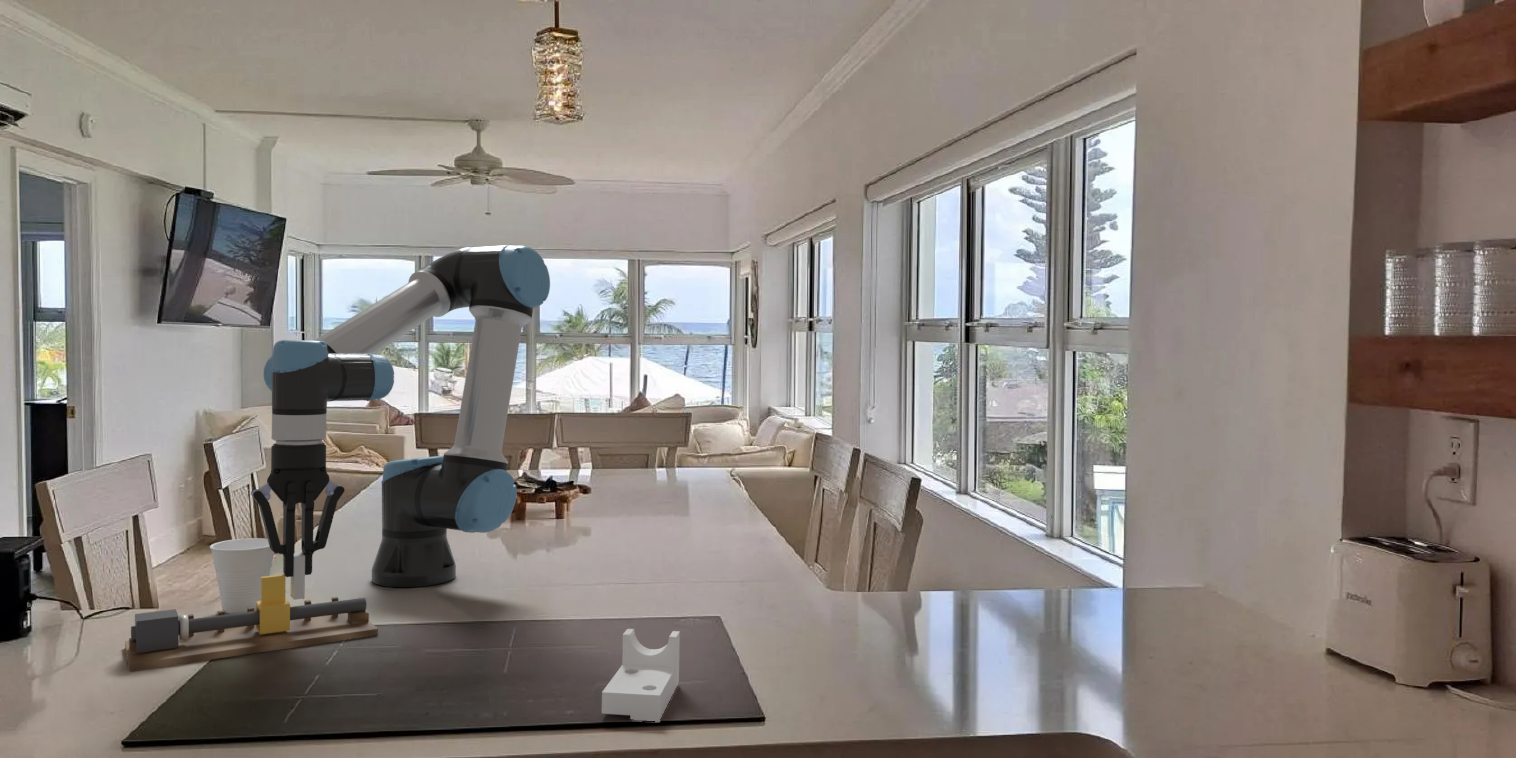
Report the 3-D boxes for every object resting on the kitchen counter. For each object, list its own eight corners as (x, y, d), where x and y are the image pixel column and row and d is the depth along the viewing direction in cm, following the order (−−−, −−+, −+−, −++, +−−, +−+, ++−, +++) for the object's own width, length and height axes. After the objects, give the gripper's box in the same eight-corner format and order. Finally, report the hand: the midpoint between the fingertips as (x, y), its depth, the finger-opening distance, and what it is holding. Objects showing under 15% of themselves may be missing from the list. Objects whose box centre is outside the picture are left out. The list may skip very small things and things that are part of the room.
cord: (363, 608, 154) (363, 596, 154) (366, 611, 153) (366, 599, 152) (130, 639, 136) (130, 624, 136) (131, 642, 135) (131, 628, 135)
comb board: (358, 616, 159) (359, 592, 159) (377, 635, 149) (377, 609, 149) (125, 647, 140) (125, 620, 140) (129, 671, 130) (129, 641, 130)
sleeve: (285, 623, 149) (285, 571, 148) (289, 630, 145) (290, 577, 145) (255, 627, 146) (256, 574, 146) (260, 634, 143) (260, 580, 143)
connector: (186, 637, 141) (186, 607, 141) (189, 645, 138) (189, 615, 138) (134, 644, 138) (134, 613, 138) (136, 653, 134) (136, 621, 134)
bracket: (626, 684, 130) (627, 628, 130) (678, 687, 130) (679, 631, 129) (601, 721, 117) (602, 659, 117) (659, 724, 117) (660, 662, 116)
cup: (248, 619, 156) (248, 551, 155) (194, 615, 158) (195, 547, 157) (289, 604, 165) (290, 540, 165) (239, 600, 167) (239, 536, 167)
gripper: (339, 438, 154) (337, 586, 154) (247, 441, 146) (245, 597, 147) (350, 442, 148) (348, 596, 148) (255, 445, 140) (253, 608, 141)
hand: (297, 596), depth 148 cm, fingers closed
